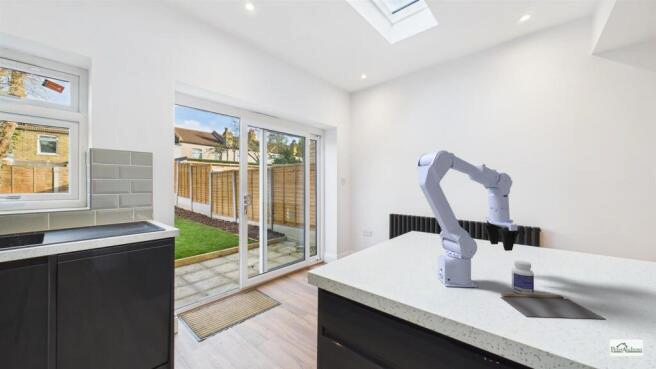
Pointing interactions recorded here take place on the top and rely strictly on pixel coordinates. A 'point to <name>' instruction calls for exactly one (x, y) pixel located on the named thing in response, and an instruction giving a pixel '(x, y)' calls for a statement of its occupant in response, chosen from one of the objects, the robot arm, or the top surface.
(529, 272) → the pill bottle
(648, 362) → the top surface
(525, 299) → the dark grey mat
